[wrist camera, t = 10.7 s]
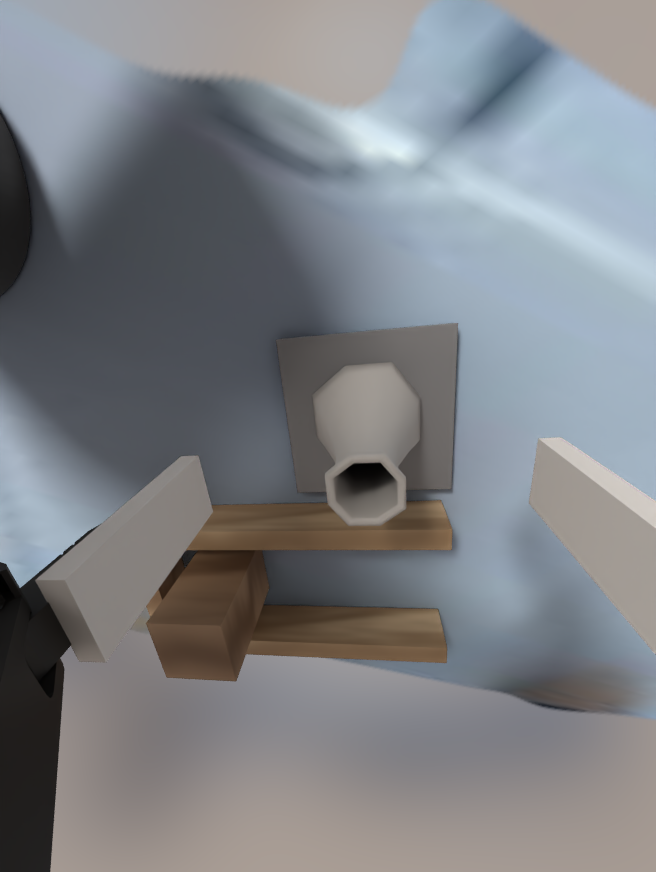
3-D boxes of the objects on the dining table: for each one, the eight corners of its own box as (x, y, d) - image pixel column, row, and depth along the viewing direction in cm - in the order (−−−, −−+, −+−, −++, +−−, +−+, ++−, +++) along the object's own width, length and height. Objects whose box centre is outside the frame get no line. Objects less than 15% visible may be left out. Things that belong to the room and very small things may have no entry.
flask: (437, 444, 22) (487, 542, 13) (337, 478, 24) (318, 585, 14) (400, 341, 20) (429, 367, 11) (294, 386, 22) (240, 442, 12)
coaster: (278, 338, 22) (275, 339, 21) (454, 322, 20) (457, 323, 19) (299, 487, 25) (297, 492, 25) (448, 483, 24) (451, 488, 23)
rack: (148, 506, 28) (119, 532, 24) (440, 500, 24) (452, 529, 21) (183, 615, 32) (162, 650, 28) (437, 622, 29) (446, 662, 25)
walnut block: (204, 541, 28) (146, 623, 21) (260, 541, 28) (220, 625, 20) (216, 586, 30) (166, 677, 23) (269, 587, 29) (236, 681, 22)
